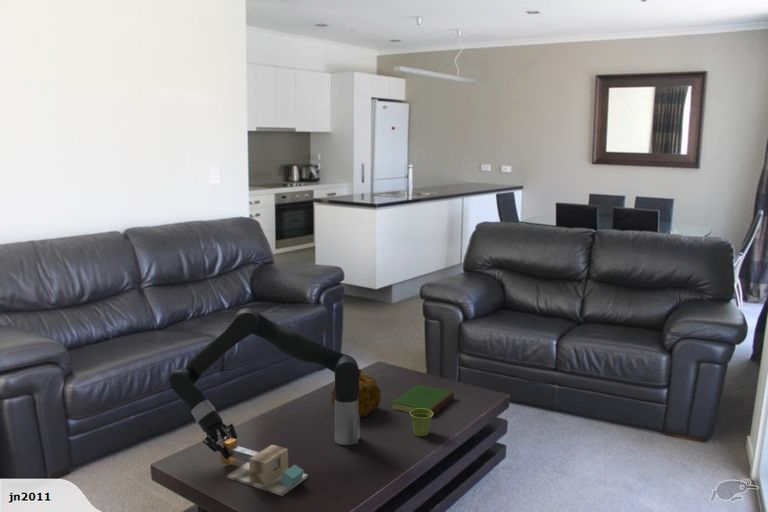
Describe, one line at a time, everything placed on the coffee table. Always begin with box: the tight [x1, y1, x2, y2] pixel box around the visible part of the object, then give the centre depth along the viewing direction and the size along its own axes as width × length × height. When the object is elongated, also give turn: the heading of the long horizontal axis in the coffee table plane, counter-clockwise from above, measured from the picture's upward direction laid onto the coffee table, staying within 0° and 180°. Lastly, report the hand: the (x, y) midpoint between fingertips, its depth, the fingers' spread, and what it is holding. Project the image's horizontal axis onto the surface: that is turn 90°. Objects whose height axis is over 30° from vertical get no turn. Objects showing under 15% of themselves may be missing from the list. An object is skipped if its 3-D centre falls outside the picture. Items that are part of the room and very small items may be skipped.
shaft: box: [220, 438, 278, 469], centre depth 223 cm, size 23×4×8 cm, turn 61°
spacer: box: [282, 464, 305, 488], centre depth 214 cm, size 4×6×4 cm
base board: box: [226, 462, 309, 497], centre depth 220 cm, size 24×14×1 cm, turn 61°
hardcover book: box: [391, 384, 455, 416], centre depth 285 cm, size 25×19×4 cm
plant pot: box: [409, 408, 434, 437], centre depth 254 cm, size 9×9×9 cm
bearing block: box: [249, 444, 289, 486], centre depth 219 cm, size 7×12×9 cm, turn 151°
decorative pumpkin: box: [330, 368, 382, 418], centre depth 273 cm, size 20×21×20 cm
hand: (233, 454), depth 226 cm, fingers closed on shaft, 4 cm apart
